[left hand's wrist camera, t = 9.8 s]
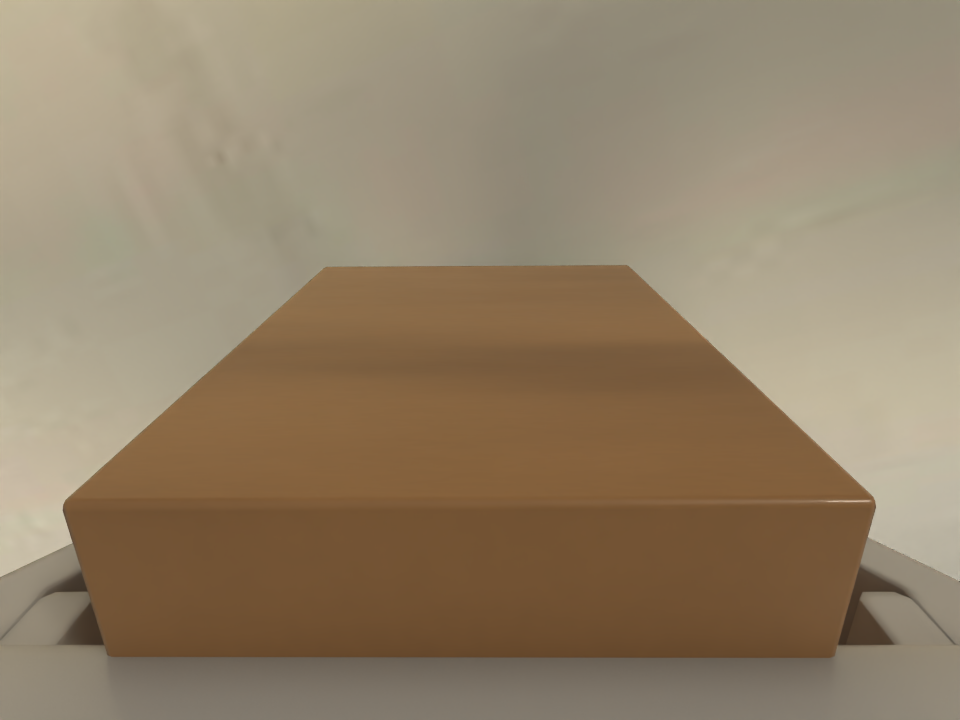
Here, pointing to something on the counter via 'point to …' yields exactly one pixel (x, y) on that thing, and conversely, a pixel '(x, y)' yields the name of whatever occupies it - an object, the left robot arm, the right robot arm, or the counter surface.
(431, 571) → the bar
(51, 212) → the counter surface
